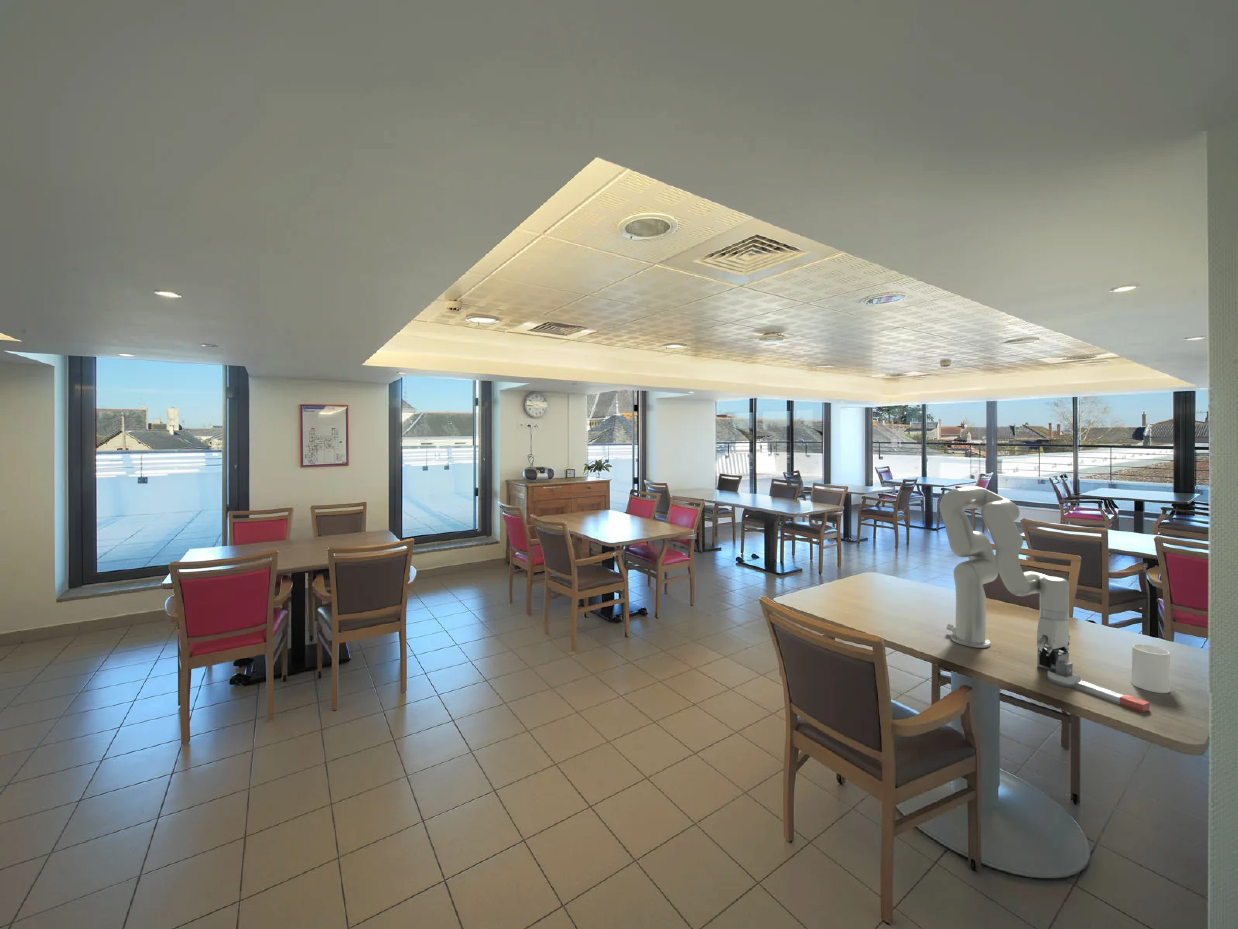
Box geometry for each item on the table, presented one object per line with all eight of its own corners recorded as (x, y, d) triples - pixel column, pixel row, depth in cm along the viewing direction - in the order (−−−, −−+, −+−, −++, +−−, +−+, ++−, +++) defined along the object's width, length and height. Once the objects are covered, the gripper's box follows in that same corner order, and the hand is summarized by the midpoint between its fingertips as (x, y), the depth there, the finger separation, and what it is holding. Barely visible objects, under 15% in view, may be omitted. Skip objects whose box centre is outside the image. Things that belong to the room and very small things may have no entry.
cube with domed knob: (1037, 666, 171) (1037, 646, 171) (1047, 663, 174) (1047, 643, 173) (1058, 673, 166) (1058, 653, 166) (1068, 670, 168) (1068, 650, 168)
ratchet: (1041, 679, 162) (1042, 659, 162) (1056, 674, 166) (1056, 655, 165) (1138, 715, 141) (1139, 692, 140) (1153, 708, 144) (1153, 686, 144)
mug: (1154, 678, 162) (1155, 642, 161) (1187, 691, 153) (1188, 653, 153) (1122, 681, 160) (1123, 644, 160) (1153, 694, 152) (1154, 655, 151)
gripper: (1055, 607, 176) (1055, 655, 176) (1025, 614, 169) (1025, 664, 170) (1082, 613, 169) (1081, 663, 169) (1052, 621, 162) (1051, 673, 163)
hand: (1053, 663), depth 170 cm, fingers open, 9 cm apart
